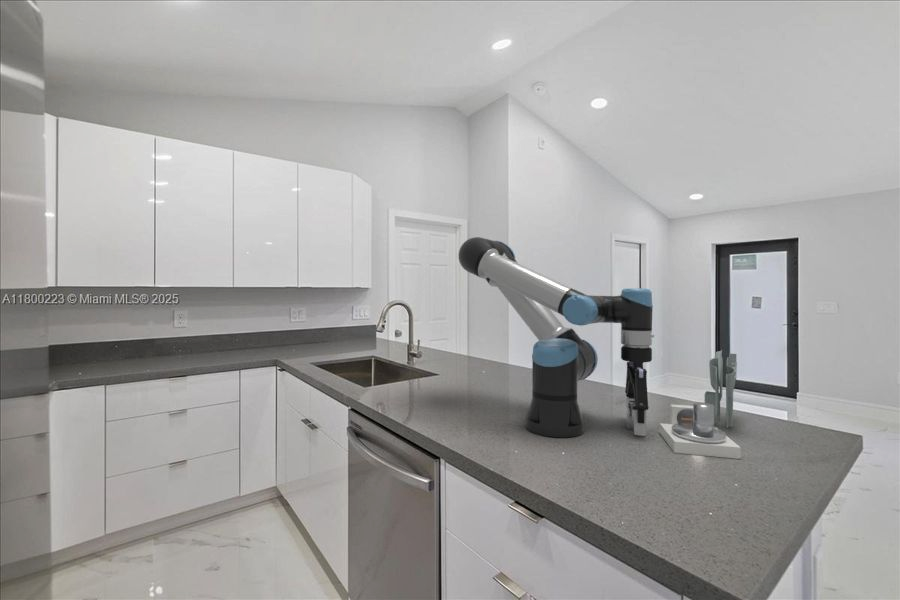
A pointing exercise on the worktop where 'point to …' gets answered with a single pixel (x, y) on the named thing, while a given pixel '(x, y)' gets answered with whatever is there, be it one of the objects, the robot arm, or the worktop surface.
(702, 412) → the grey metal knob
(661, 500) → the worktop surface
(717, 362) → the bracket
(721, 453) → the scale
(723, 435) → the pan
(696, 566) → the worktop surface
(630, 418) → the cylinder
